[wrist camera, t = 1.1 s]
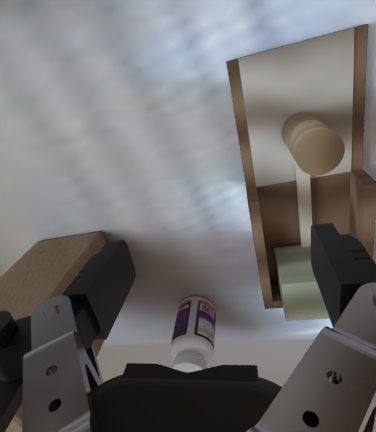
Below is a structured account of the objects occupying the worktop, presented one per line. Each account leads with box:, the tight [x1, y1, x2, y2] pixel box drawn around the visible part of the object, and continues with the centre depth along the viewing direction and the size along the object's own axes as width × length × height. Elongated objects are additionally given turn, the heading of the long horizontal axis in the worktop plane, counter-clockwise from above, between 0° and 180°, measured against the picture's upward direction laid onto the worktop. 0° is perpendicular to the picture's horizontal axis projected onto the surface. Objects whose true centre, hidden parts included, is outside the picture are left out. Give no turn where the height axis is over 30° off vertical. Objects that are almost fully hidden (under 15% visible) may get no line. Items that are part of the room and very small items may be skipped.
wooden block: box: [0, 232, 107, 432], centre depth 31 cm, size 10×10×20 cm
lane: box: [227, 24, 376, 309], centre depth 28 cm, size 26×11×4 cm, turn 14°
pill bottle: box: [171, 296, 216, 372], centre depth 37 cm, size 5×5×10 cm
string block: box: [274, 112, 345, 321], centre depth 27 cm, size 19×7×7 cm, turn 14°
